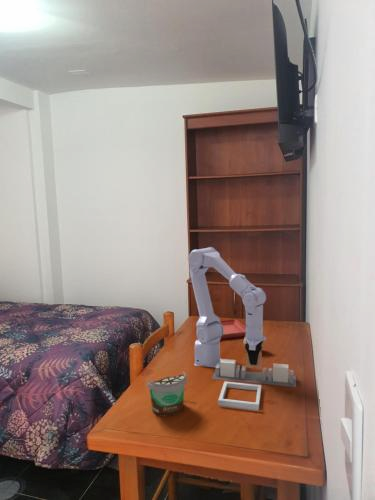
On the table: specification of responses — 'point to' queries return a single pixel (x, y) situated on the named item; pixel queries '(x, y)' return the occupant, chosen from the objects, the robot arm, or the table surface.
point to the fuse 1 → (227, 367)
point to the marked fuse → (257, 361)
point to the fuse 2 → (280, 372)
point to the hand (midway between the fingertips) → (253, 362)
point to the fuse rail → (255, 376)
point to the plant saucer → (232, 328)
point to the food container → (167, 395)
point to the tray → (236, 403)
